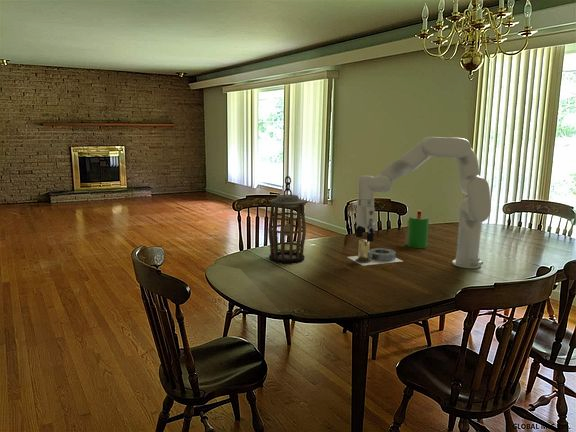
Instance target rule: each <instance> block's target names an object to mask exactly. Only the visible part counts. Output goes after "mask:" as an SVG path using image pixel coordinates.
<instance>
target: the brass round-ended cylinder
mask: <svg viewBox="0 0 576 432" xmlns="http://www.w3.org/2000/svg"><path fill="white" fill-rule="evenodd" d="M370 243H371V242H367V238H366V239H364V238H362V239H359V240H358V252H357V254H358V255H357V256H358V261H361V262H368V261H369V250H370V245H371V244H370Z"/></svg>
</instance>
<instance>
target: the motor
mask: <svg viewBox="0 0 576 432" xmlns="http://www.w3.org/2000/svg"><path fill="white" fill-rule="evenodd" d="M421 216H422V210H420V209H418V210H417V214H416V218H415V217H414V218H413V217H412V216H411V215H410V216H408V229H407V231H408V232H407V245H406V246H407V247H410V248H412V249H413V248H414V249H426V248H427V247H428V236H429V235H428V234H429V221H430V220H429V217H426V218H422V217H421Z"/></svg>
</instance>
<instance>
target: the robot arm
mask: <svg viewBox="0 0 576 432" xmlns="http://www.w3.org/2000/svg"><path fill="white" fill-rule="evenodd" d="M432 157H435V158H447V159H448V158H449V159H450V158H452V159H454V160H455V161H456V164H457V168H458V169H457V170H458V181H459V182H458V183H459V189H460V192H462V193H463V195H467V197H466V198H464V199H462V200H461V201H460V203H459V206H458V231H457V244H456V253H455V255H456V256H455V259H453V260H452V263H451V264H452V265H453V266H455V267H458V268H463V269H480V268H481V267H482V265H484V262H483V261H481V259H480V257H479V251H480V243H481V241H480V240H481V233H482V223H484V222H485V221H486V220H488V219H489V217H490V215H491V211H492V210H491V191H490V186H489V183H488V181H487V180H486V178H485V177H483V176H480V168H479V160H478V157H477V154H476V152H475V151H474V150H473V148H472V145H471V142H470V141H469V140H468V139H466V138H463V137H441V136H426V137H424V138H423V139H421V140H420V141H418V142H417V143H416V144H415V145H414V146H413V147H411V148H410V149H409V150H408V151H407V152H405V153H404V154H403V155H401V156H400V157H398V158H397V159H396V160H395V161H392V162H391V163H389V164H388V165H387V166H386V167H384V169H382V170H381V171H379V172H378V173H377V174H376V175H375V176H373V175H366V174H365V175H359V176H358V178H357V180H358V181H357V201H356V202H357V203H356V206H357V207H356V208H357V209H356V216H355V218H354V224H355V237H356V238H362V237H363V233H364V232H363V231H364V230H363V229H366V231H367V233H366V240H367V242H370V243H371V242H374V238H375V237H374V234H375V232H376V227H377V224H376V209H375V192H376V193H377V192H378V193H383V194H384V193H389V192H390V191H391V190H392V189H393V188H394V187H393V186H394V181H396V180H398V178H400V177H402V176H404V175H407V174H409V173H412V172H414V171H415V170H417V169H418V168H419V167H420V166H421V165H423V164H424V163H425V162H426V161H428V160H429V159H430V158H432ZM479 267H480V268H479Z"/></svg>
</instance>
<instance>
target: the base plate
mask: <svg viewBox="0 0 576 432" xmlns="http://www.w3.org/2000/svg"><path fill="white" fill-rule="evenodd" d="M347 258H348V259H349V260H351V261H353V262H355V263H356V264H359V265H360V266H364V267H365V266H370V265H371V266H372V265H381V264H383V265H384V264H390V263H401V262H403V260H401V259H399V258H397V257H395V260H393V261H376V260H372V259H370V258H369V261H368V262H361V261H358V255H354V256H347Z"/></svg>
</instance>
